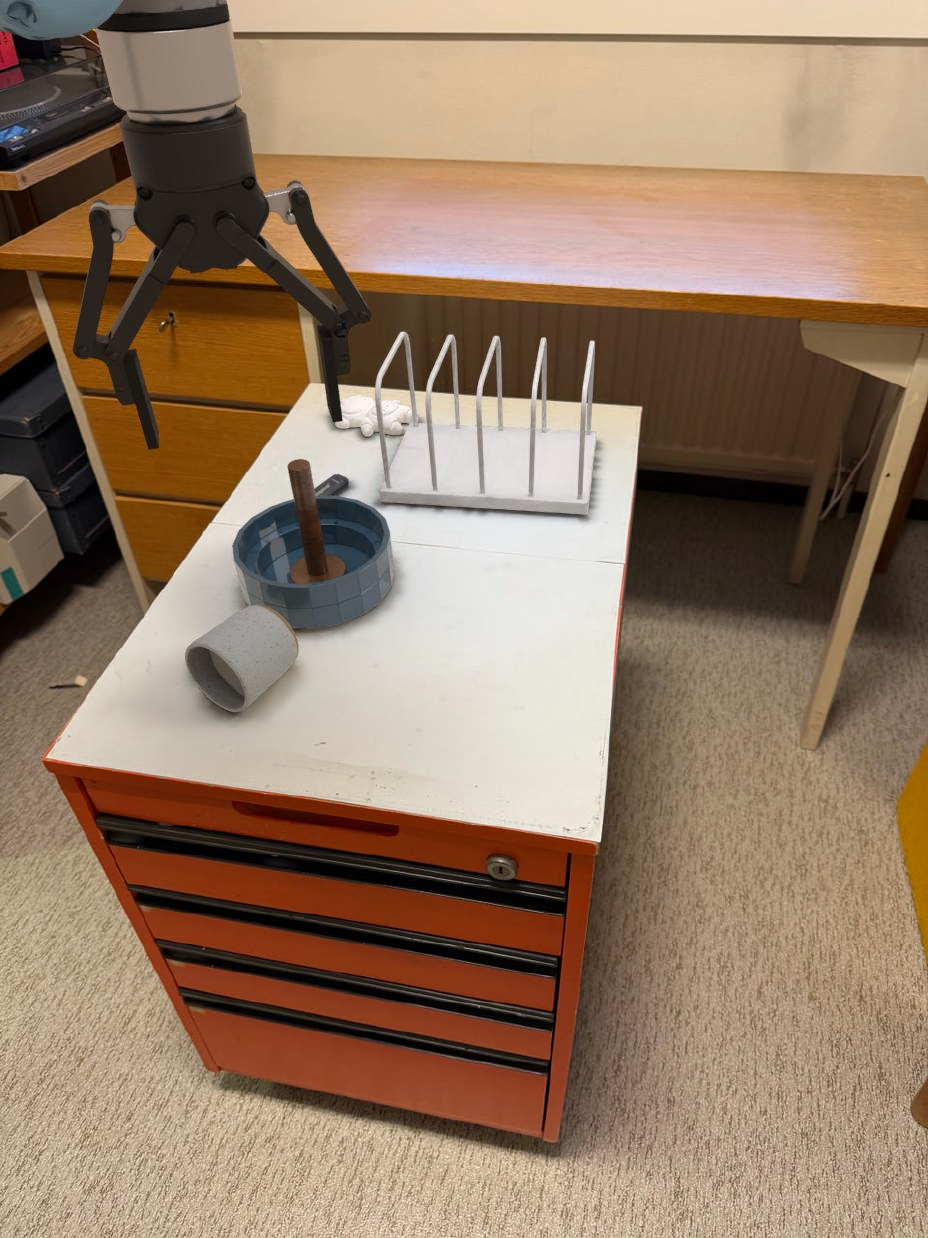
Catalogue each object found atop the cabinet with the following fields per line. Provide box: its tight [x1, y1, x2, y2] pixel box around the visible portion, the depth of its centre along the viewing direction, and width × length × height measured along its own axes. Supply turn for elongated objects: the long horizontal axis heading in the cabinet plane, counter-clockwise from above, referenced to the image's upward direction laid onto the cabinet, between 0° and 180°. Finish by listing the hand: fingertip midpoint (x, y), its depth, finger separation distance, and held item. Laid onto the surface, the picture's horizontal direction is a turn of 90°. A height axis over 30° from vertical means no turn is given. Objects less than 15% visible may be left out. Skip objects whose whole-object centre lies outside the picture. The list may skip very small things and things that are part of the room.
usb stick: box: [314, 473, 350, 496], centre depth 107 cm, size 10×3×2 cm, turn 147°
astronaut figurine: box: [334, 394, 419, 438], centre depth 122 cm, size 9×12×3 cm
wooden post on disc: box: [286, 458, 347, 584], centre depth 91 cm, size 6×6×14 cm
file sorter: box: [374, 331, 597, 515], centre depth 106 cm, size 25×17×16 cm
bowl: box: [231, 495, 395, 630], centre depth 94 cm, size 16×16×6 cm
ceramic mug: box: [184, 604, 300, 713], centre depth 82 cm, size 11×8×8 cm
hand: (246, 427), depth 67 cm, fingers open, 13 cm apart
